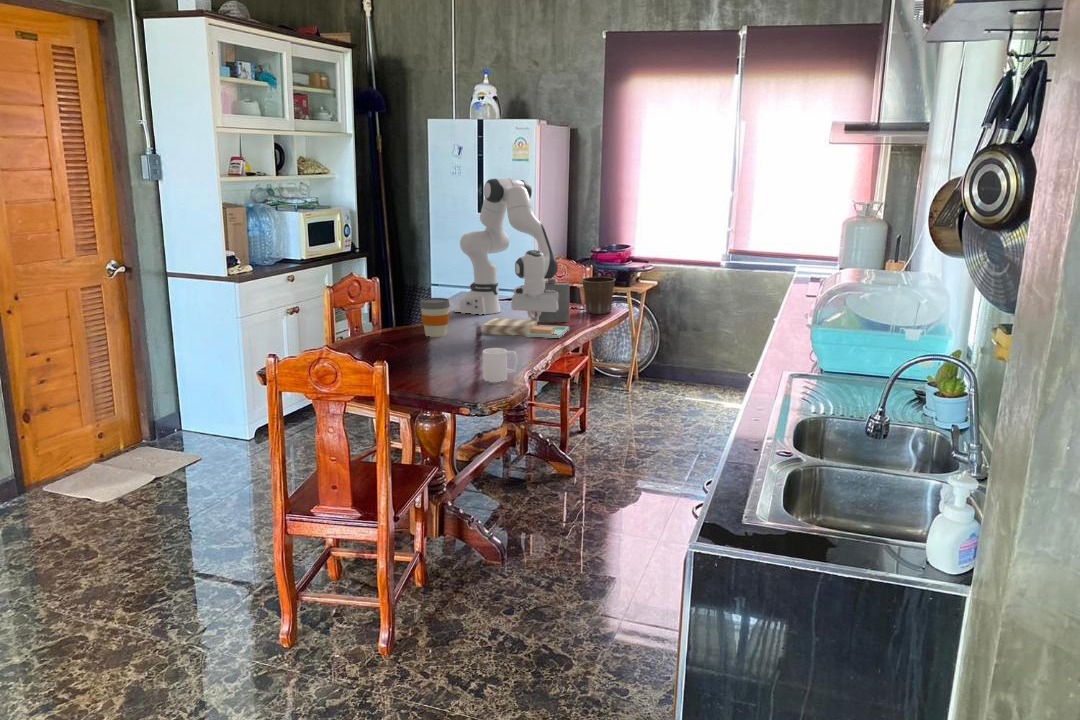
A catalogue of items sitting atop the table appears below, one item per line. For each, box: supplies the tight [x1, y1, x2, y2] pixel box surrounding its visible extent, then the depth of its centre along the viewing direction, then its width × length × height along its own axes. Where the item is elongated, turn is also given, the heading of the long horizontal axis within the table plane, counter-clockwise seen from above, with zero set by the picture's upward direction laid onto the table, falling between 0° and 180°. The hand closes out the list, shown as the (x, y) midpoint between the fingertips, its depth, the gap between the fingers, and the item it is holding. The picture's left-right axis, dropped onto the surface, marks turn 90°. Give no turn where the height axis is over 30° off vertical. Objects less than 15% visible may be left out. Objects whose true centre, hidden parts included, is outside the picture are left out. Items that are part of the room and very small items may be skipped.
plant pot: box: [581, 276, 616, 315], centre depth 393 cm, size 16×16×16 cm
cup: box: [482, 347, 519, 383], centre depth 280 cm, size 8×12×10 cm
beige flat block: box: [482, 317, 538, 337], centre depth 354 cm, size 20×14×4 cm
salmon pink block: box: [531, 325, 555, 335], centre depth 350 cm, size 9×6×2 cm, turn 75°
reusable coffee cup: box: [419, 297, 451, 338], centre depth 347 cm, size 13×13×15 cm
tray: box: [526, 324, 570, 339], centre depth 350 cm, size 14×18×2 cm
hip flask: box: [534, 277, 571, 323], centre depth 372 cm, size 16×4×20 cm, turn 81°
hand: (535, 321), depth 350 cm, fingers closed
